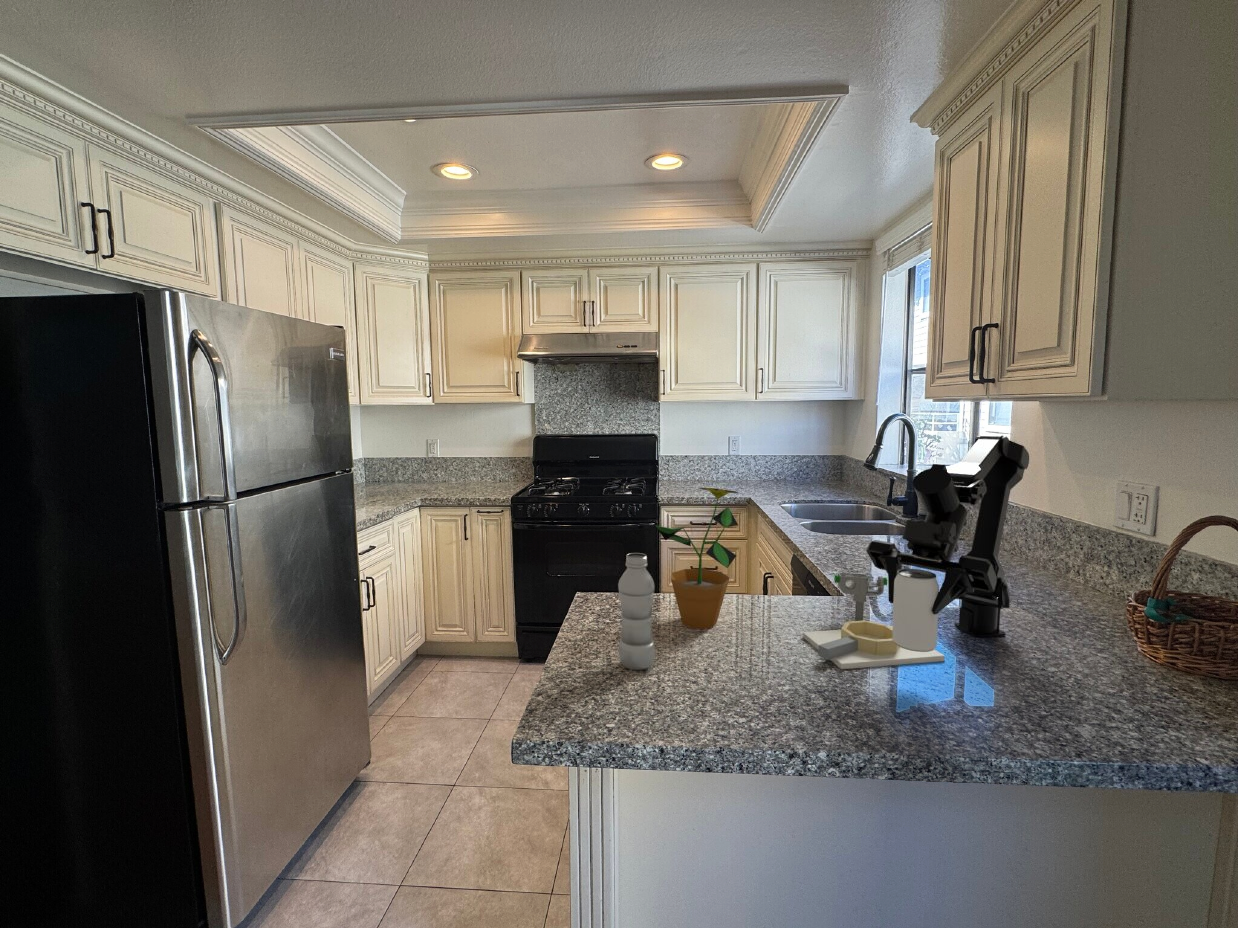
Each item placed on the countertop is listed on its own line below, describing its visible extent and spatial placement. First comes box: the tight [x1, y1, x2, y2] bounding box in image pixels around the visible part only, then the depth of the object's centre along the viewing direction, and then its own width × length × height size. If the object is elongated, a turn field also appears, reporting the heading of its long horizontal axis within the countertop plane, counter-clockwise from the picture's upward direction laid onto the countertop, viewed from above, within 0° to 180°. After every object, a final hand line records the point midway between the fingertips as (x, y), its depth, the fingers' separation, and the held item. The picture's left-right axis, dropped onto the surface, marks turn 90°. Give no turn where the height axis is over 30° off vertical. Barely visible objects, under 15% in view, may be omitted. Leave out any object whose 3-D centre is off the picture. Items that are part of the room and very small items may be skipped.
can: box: [892, 568, 940, 652], centre depth 90 cm, size 6×6×12 cm
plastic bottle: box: [617, 552, 656, 671], centre depth 96 cm, size 6×7×20 cm
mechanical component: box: [833, 572, 888, 621], centre depth 117 cm, size 3×10×10 cm, turn 78°
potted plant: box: [654, 487, 739, 630], centre depth 116 cm, size 18×19×30 cm
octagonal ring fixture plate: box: [802, 619, 945, 670], centre depth 104 cm, size 25×14×4 cm, turn 99°
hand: (911, 607), depth 89 cm, fingers closed on can, 6 cm apart
